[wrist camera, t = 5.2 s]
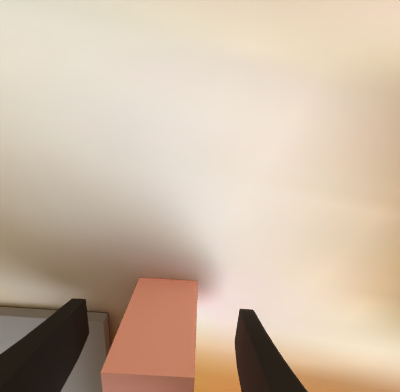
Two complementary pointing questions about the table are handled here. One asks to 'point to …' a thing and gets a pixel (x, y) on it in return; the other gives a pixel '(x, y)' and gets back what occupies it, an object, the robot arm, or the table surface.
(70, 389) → the pad
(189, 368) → the pink eraser brick
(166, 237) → the table surface
